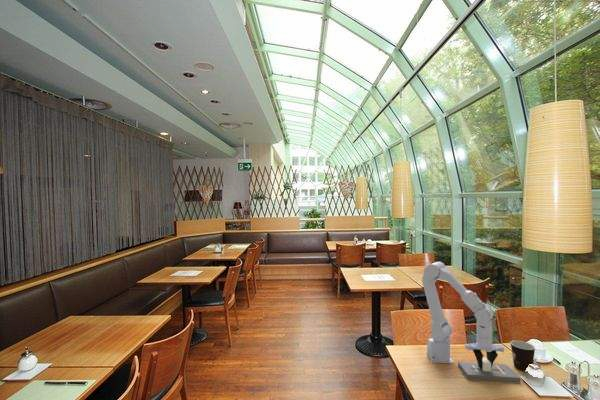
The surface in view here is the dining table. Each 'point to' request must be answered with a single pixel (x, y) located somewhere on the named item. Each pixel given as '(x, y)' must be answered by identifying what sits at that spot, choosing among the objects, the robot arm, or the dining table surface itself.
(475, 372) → the slider panel
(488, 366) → the slider knob
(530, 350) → the coffee mug
